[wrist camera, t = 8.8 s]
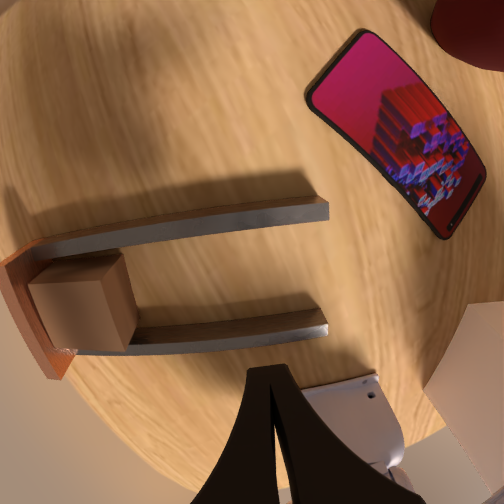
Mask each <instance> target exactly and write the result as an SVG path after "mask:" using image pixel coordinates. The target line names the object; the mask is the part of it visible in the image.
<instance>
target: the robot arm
mask: <svg viewBox="0 0 504 504" xmlns="http://www.w3.org/2000/svg"><path fill="white" fill-rule="evenodd" d="M378 379H379V376H378V374H377V373H374V374H370V375H366V376H363V377H359V378H355V379H351V380H347V381H342V382H338V383H334V384H329V385H324V386H319V387H314V388H309V389H304V390H300V388H299V387H298V385H297V384H296V382H295V380H294V378H293V376H292V374H291V372H290V370H289V368H288V365H286V364H277V365H270V366H263V367H255V368H249V369H248V370H247V377H246V384H245V390H244V394H243V398H242V402H241V405H240V409H239V412H238V415H237V418H236V421H235V424H234V426H233V429H232V431H231V434H230V437H229V439H228V441H227V444H226V446H225V448H224V450H223V452H222V454H221V456H220V458H219V460H218V462H217V464H216V466H215V467H214V469H213V471H212V472H211V474H210V476H209V478H208V479H207V481H206V482H205V484H204V485H203V487H202V488H201V490H200V491H199V493H198V494H197V495H196V497H195V498H194V499H193V501H192V502H191V503H190V504H280V502H279V495H278V487H277V478H276V455H275V429H276V433H277V436H278V440H279V444H280V448H281V452H282V455H283V459H284V463H285V467H286V470H287V475H288V479H289V485H290V491H291V497H292V501H289V502H288V503H287V504H426V503H425V501H424V500H423V498H422V497H421V496H420V495H418V494H416V493H415V491H414V488H413V486H412V484H411V482H410V479H409V478H408V476H407V474H406V472H405V471H404V469H402V468H399V467H396V465H398V464H399V463H400V461H401V460H402V458H403V455H404V438H403V433H402V430H401V427H400V424H399V422H398V420H397V418H396V416H395V414H394V412H393V410H392V408H391V406H390V404H389V402H388V401H387V399H386V397H385V395H384V393H383V391H382V389H381V387H380V385H379V383H378ZM274 425H275V428H274ZM387 469H388V470H387ZM388 472H389V473H388ZM482 504H504V486H503V487H501V488H500V489H499V490H498V491H496V492H495V493H494V494H493V495H492V497H490V498H489V499H488V500H486V501H485V502H484V503H482Z"/></svg>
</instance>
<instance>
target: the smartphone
mask: <svg viewBox="0 0 504 504" xmlns="http://www.w3.org/2000/svg"><path fill="white" fill-rule="evenodd" d="M306 102H307V105H308V107H309V109H310V110H311V111H312V112H313V113H314V114H316V115H317V116H318V117H319V118H321V119H322V120H323V121H324V122H326V123H327V124H328V125H329V126H330V127H331V128H333V129H334V130H335V131H336V132H337V133H338V134H340V135H341V136H342V137H343V138H344V139H345V140H346V141H348V142H349V143H350V144H351V145H352V146H353V147H354V148H355V149H356V150H357V151H358V152H360V153H361V154H362V155H363V156H364V157H365V158H366V159H367V160H368V161H369V162H370V163H371V164H372V165H373V166H374V167H375V168H376V169H377V170H378V171H379V172H380V173H381V174H382V175H383V177H384V178H385V179H386V180H387V181H388V182H389V183H390V184H391V185H392V186H394V187H395V188H396V189H397V191H398V192H399V193H400V194H401V195H402V196H403V197H404V198H405V199H406V200H407V202H408V203H409V204H410V205H411V206H412V207H413V208H414V209H415V211H416V212H417V213H418V214H419V216H420V217H421V218H422V220H423V221H425V222H426V224H427V225H428V226H429V227H430V229H431V230H432V231H433V232H434V234H435V235H436V236H437V237H438V238H440V239H442V240H447V239H449V238H450V237H451V236H452V234H453V233H454V232H455V230H456V229H457V227H458V226H459V224H460V222H461V221H462V219H463V218H464V216H465V215H466V213H467V211H468V210H469V208H470V207H471V205H472V203H473V202H474V200H475V198H476V197H477V195H478V193H479V191H480V190H481V188H482V186H483V184H484V182H485V180H486V168H485V166H484V164H483V163H482V161H481V159H480V158H479V156H478V154H477V153H476V151H475V149H474V148H473V146H472V145H471V143H470V141H469V140H468V138H467V137H466V135H465V134H464V132H463V131H462V129H461V128H460V127H459V125H458V124H457V122H456V121H455V120H454V118H453V117H452V115H451V114H450V113H449V111H448V110H447V109H446V108H445V106H444V105H443V104H442V102H441V101H440V100H439V99H438V97H437V96H436V95H435V94H434V93H433V91H432V90H431V89H430V88H429V87H428V85H427V84H426V83H425V82H424V81H423V80H422V79H421V78H420V76H419V75H418V74H417V73H416V72H415V71H414V70H413V69H412V68H411V67H410V66H409V65H408V64H407V63H406V62H405V61H404V60H403V59H402V58H401V57H400V56H399V55H398V54H397V53H396V52H395V51H394V50H393V49H392V48H391V47H390V46H389V45H388V44H387V43H386V42H385V41H384V40H382V39H381V38H380V37H379V36H378V35H377V34H375V33H374V32H371V31H362V32H360V33H359V34H358V35H357V36H356V37H355V38H354V39H353V40H352V42H351V43H350V44H349V45H348V46H347V47H346V48H345V49H344V51H343V52H342V53H341V54H340V55H339V56H338V58H337V59H336V60H335V61H334V62H333V63H332V64H331V66H330V67H329V68H328V69H327V70H326V72H325V73H324V74H323V75H322V76H321V77H320V79H319V80H318V81H317V82H316V83H315V85H314V86H313V87H312V88H311V89H310V90H309V92H308V94H307V97H306Z"/></svg>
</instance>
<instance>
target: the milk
mask: <svg viewBox="0 0 504 504" xmlns="http://www.w3.org/2000/svg"><path fill="white" fill-rule="evenodd" d="M423 391H424V393H425V394H426V396H427V397H428V398H429V400H430V401H431V403H432V404H433V405H434V407H435V408H436V410H437V411H438V413H439V414H440V415H441V417H442V418H443V420H444V421H445V423H446V424H447V426H448V427H449V429H450V430H451V431H452V433H453V434H454V436H455V437H456V439H457V440H458V442H459V443H460V445H461V446H462V448H463V450H464V451H465V453H466V454H467V456H468V457H469V459H470V460H471V462H472V463H473V465H474V467H475V468H476V470H477V471H478V473H479V475H480V477H481V478H482V479H483V481H484V483H485V484H486V486H487V488H488V490H489V492H490V493H491V495H493V494H494V493H495V492H496V491H498V490H499V489H500V488H501V487H503V486H504V301H498V302H487V303H475V304H468V305H467V308H466V310H465V312H464V315H463V317H462V319H461V321H460V324H459V326H458V328H457V330H456V332H455V334H454V336H453V338H452V340H451V342H450V344H449V346H448V348H447V350H446V352H445V354H444V355H443V357H442V359H441V361H440V363H439V364H438V366H437V368H436V370H435V371H434V373H433V375H432V376H431V378H430V380H429V381H428V383H427V384H426V386H425V388H424V389H423Z"/></svg>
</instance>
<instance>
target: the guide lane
mask: <svg viewBox="0 0 504 504" xmlns="http://www.w3.org/2000/svg"><path fill="white" fill-rule="evenodd" d="M326 220H329V202H328V201H326V200H324V199H323V198H321V197H320V196H308V197H297V198H287V199H278V200H269V201H260V202H252V203H244V204H236V205H228V206H220V207H213V208H206V209H199V210H192V211H185V212H179V213H172V214H166V215H160V216H154V217H148V218H142V219H136V220H131V221H125V222H120V223H114V224H109V225H104V226H99V227H94V228H89V229H84V230H79V231H74V232H69V233H65V234H60V235H56V236H51V237H47V238H42V239H38V240H34V241H31V242H30V243H28V244H27V245H25V246H24V247H22V248H21V249H19V250H18V251H16V252H15V253H13V254H12V255H10V256H9V257H7V258H6V259H4V260H3V261H2V262H0V290H1V292H2V295H3V297H4V299H5V302H6V304H7V306H8V308H9V311H10V313H11V315H12V317H13V319H14V321H15V323H16V325H17V327H18V329H19V331H20V333H21V335H22V337H23V339H24V341H25V342H26V344H27V346H28V348H29V350H30V351H31V353H32V355H33V356H34V358H35V359H36V361H37V363H38V365H39V366H40V368H41V370H42V371H43V373H44V374H45V376H46V377H47V378H48V379H54V380H61V379H62V377H63V376H64V374H65V372H66V370H67V369H68V367H69V365H70V363H71V362H72V360H73V358H74V357H75V355H98V356H140V355H169V354H187V353H201V352H213V351H224V350H234V349H243V348H251V347H259V346H267V345H274V344H281V343H288V342H294V341H300V340H306V339H312V338H318V337H323V336H328V322H327V320H326V318H325V316H324V314H323V312H322V310H321V308H317V309H311V310H305V311H298V312H292V313H285V314H278V315H271V316H263V317H256V318H248V319H239V320H231V321H221V322H212V323H201V324H190V325H179V326H165V327H150V328H136V329H135V331H134V333H133V335H132V338H131V340H130V342H129V344H128V347H127V349H126V351H125V352H118V351H95V350H79V349H66V348H56V347H54V345H53V343H52V341H51V339H50V337H49V335H48V333H47V330H46V328H45V326H44V324H43V322H42V319H41V317H40V315H39V312H38V310H37V308H36V305H35V303H34V300H33V298H32V295H31V292H30V290H29V287H28V284H29V283H30V282H31V281H32V280H33V279H34V278H36V277H37V276H38V275H39V274H40V273H41V272H43V271H44V270H45V269H46V268H47V267H49V266H50V265H51V264H52V263H53V261H52V258H57V257H63V256H69V255H75V254H81V253H87V252H94V251H100V250H106V249H112V248H119V247H125V246H132V245H139V244H145V243H152V242H159V241H166V240H173V239H180V238H187V237H195V236H202V235H210V234H217V233H225V232H233V231H240V230H248V229H256V228H265V227H273V226H281V225H290V224H299V223H307V222H316V221H326Z"/></svg>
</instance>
